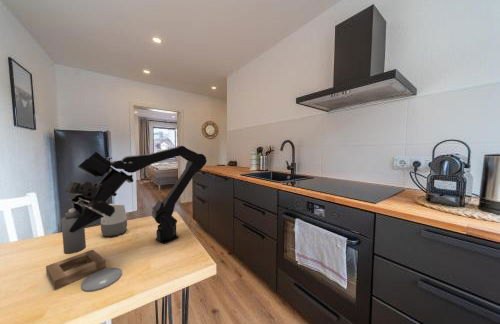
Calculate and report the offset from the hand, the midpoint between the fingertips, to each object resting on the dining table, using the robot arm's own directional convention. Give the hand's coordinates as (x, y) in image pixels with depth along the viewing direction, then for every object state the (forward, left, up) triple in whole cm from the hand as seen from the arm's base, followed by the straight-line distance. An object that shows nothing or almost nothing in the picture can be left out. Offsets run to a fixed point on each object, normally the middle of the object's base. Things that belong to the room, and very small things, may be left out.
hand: (67, 230), depth 54 cm
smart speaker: (-18, -20, -13) cm, 30 cm away
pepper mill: (-1, 0, -7) cm, 7 cm away
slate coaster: (-4, +11, -13) cm, 18 cm away
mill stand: (-1, 0, -13) cm, 13 cm away
